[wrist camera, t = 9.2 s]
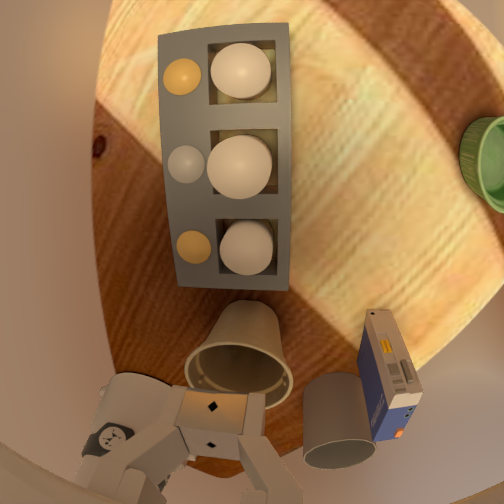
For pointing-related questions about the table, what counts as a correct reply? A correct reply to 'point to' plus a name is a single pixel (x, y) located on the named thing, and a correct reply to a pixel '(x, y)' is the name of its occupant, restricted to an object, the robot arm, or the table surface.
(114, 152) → the table surface
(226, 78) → the button
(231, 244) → the button
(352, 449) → the cup
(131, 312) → the table surface
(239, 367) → the flower pot
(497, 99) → the table surface
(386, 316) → the walkman
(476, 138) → the ramekin
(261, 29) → the board
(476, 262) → the table surface
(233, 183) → the button
